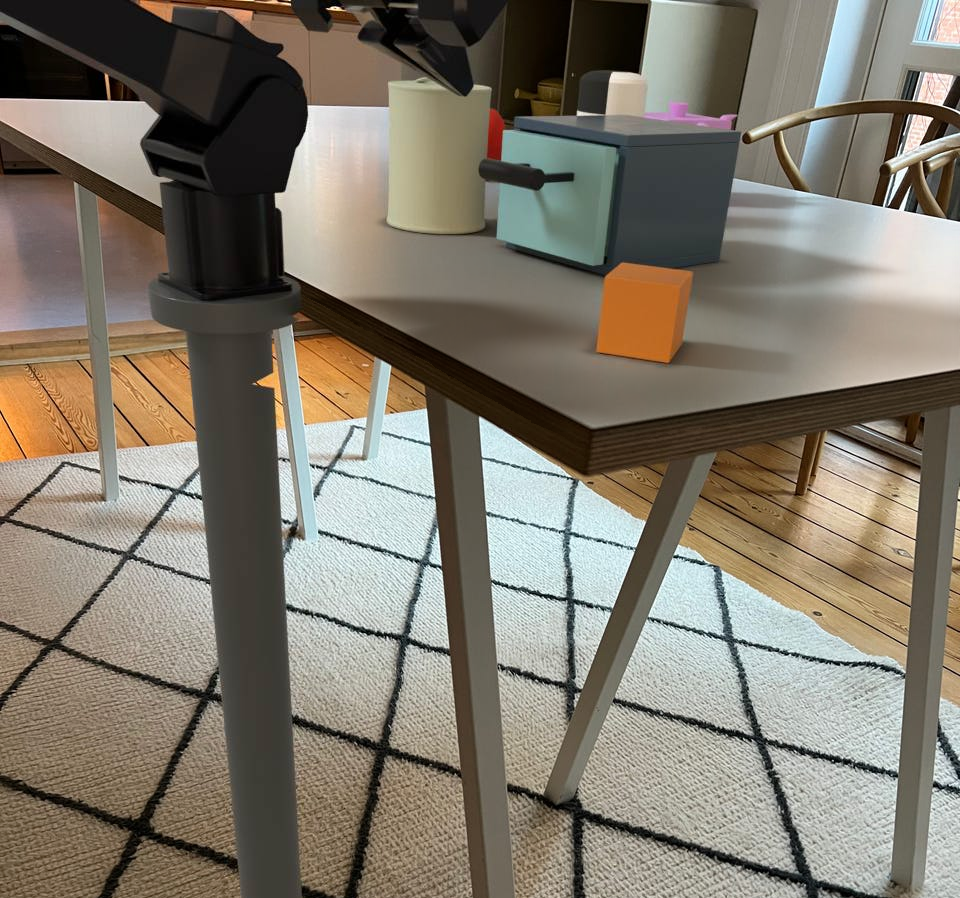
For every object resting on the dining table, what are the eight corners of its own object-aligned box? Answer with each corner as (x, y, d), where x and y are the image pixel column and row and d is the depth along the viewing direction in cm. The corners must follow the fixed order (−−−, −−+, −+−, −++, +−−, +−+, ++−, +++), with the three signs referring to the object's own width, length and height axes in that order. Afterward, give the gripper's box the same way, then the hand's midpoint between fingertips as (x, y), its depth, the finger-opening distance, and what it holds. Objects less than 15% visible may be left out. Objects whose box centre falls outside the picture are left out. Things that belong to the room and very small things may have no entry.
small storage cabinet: (611, 277, 80) (629, 135, 74) (505, 247, 87) (514, 116, 82) (719, 261, 87) (741, 131, 82) (612, 234, 95) (627, 114, 90)
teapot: (683, 184, 127) (697, 97, 122) (758, 202, 118) (775, 108, 113) (567, 188, 119) (576, 94, 114) (636, 208, 109) (649, 106, 104)
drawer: (548, 272, 76) (559, 150, 71) (452, 243, 83) (457, 131, 78) (695, 251, 86) (712, 143, 81) (598, 228, 93) (609, 127, 88)
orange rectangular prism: (668, 363, 60) (680, 285, 58) (595, 352, 62) (604, 275, 59) (681, 345, 64) (693, 271, 62) (612, 334, 65) (621, 262, 63)
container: (546, 213, 103) (558, 67, 96) (592, 207, 108) (607, 68, 101) (606, 226, 99) (624, 74, 92) (651, 219, 104) (671, 74, 97)
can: (453, 213, 100) (458, 75, 94) (503, 231, 93) (513, 84, 87) (369, 218, 96) (369, 73, 89) (416, 236, 89) (419, 81, 83)
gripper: (517, -253, 53) (630, 5, 65) (322, -218, 65) (449, -5, 77) (395, -84, 53) (532, 143, 65) (221, -80, 65) (365, 112, 77)
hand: (467, 91), depth 71 cm, fingers closed
